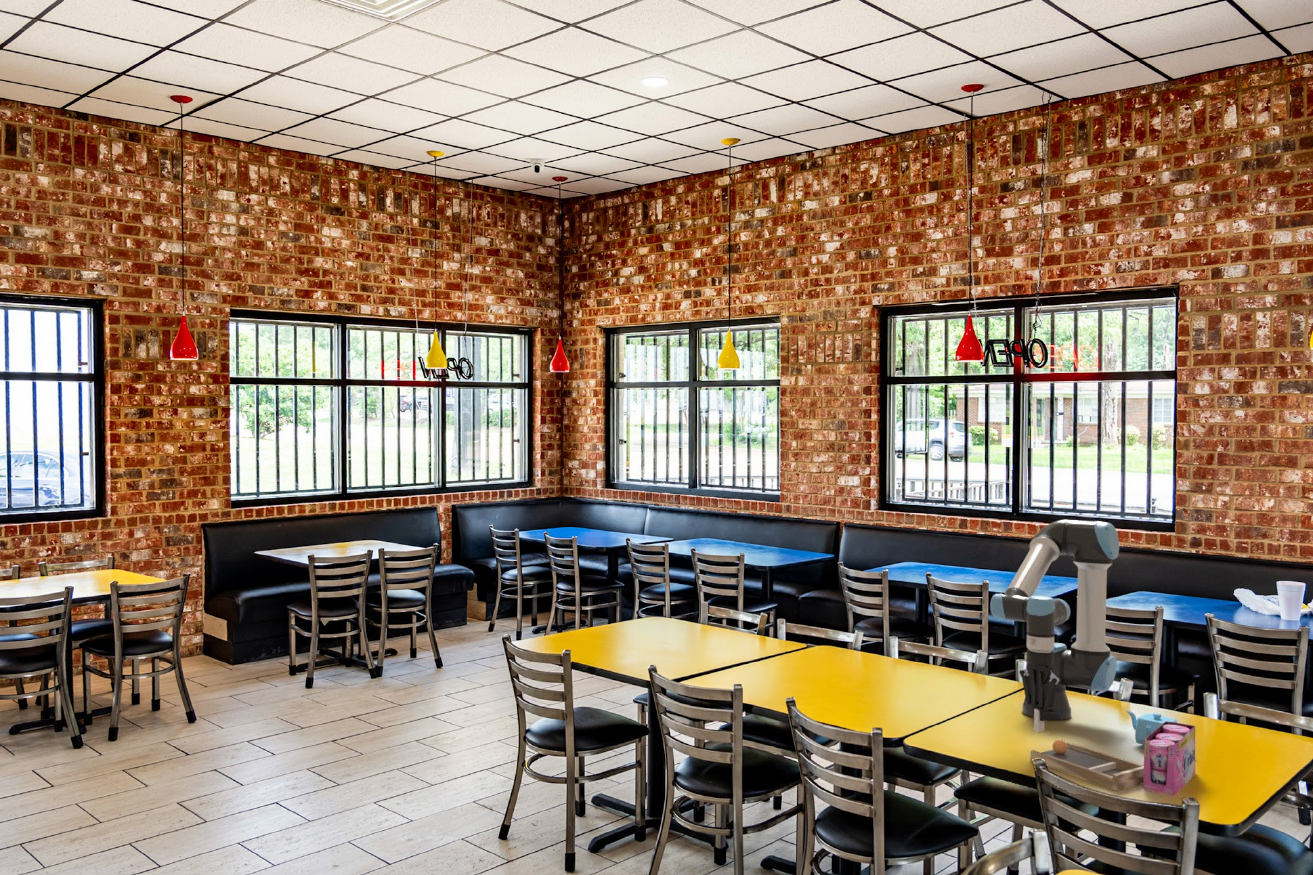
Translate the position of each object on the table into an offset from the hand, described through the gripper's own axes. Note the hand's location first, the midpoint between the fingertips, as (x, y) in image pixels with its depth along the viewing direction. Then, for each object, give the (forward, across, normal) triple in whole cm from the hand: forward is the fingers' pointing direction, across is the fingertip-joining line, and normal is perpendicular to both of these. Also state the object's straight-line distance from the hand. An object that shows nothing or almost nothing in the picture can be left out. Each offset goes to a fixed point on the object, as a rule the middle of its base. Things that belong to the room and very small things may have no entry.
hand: (1039, 731), depth 297 cm
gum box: (+7, +33, +12) cm, 36 cm away
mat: (+7, +16, 0) cm, 17 cm away
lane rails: (+7, +17, +1) cm, 18 cm away
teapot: (+6, +14, +34) cm, 38 cm away
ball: (+3, +7, 0) cm, 7 cm away
